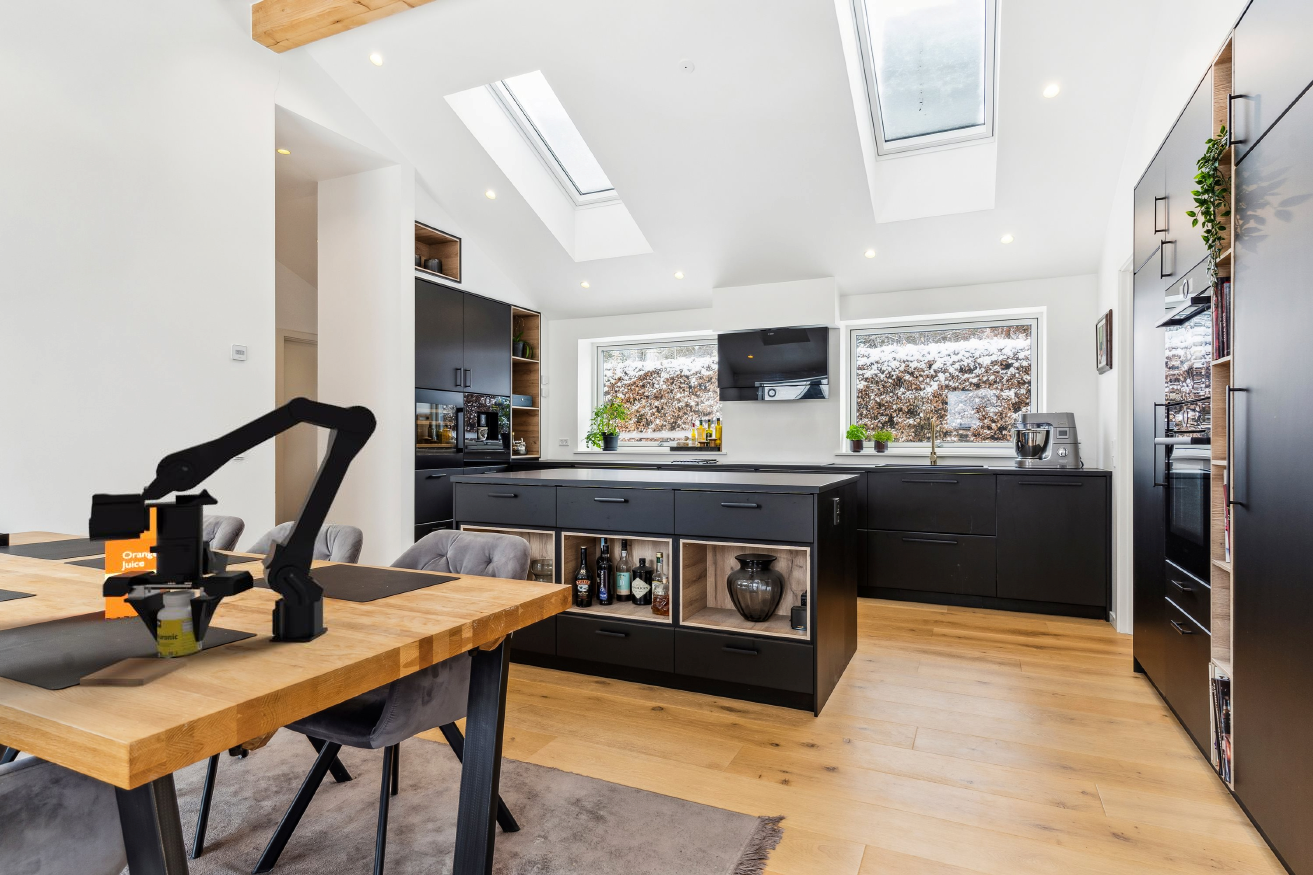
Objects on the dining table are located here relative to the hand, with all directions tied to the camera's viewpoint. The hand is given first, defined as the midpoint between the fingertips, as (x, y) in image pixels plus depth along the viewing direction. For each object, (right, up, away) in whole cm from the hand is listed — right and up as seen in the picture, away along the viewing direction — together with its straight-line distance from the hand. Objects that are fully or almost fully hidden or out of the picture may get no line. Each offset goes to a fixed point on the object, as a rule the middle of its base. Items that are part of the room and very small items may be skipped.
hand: (179, 641), depth 99 cm
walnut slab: (+1, -3, -10) cm, 10 cm away
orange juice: (-25, -3, +24) cm, 35 cm away
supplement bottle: (0, -3, 0) cm, 3 cm away
